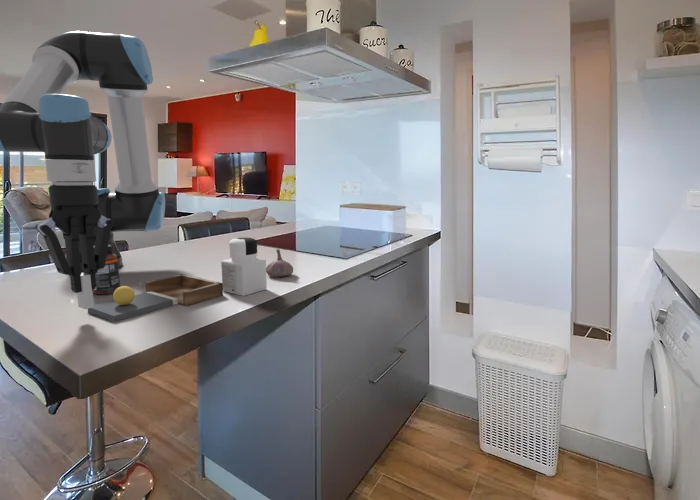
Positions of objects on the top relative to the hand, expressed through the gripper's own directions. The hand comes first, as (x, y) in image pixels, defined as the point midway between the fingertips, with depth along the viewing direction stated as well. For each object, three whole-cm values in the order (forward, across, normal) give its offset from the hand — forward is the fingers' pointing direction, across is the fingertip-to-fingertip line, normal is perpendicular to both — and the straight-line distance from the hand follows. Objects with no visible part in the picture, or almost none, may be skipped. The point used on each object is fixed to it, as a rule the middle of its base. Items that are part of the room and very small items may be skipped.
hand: (85, 306), depth 82 cm
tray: (+3, +22, 0) cm, 22 cm away
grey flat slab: (+3, +10, 0) cm, 10 cm away
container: (+3, +32, -9) cm, 34 cm away
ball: (0, +8, 0) cm, 8 cm away
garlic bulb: (+3, +48, -6) cm, 49 cm away
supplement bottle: (+3, +12, +17) cm, 21 cm away
